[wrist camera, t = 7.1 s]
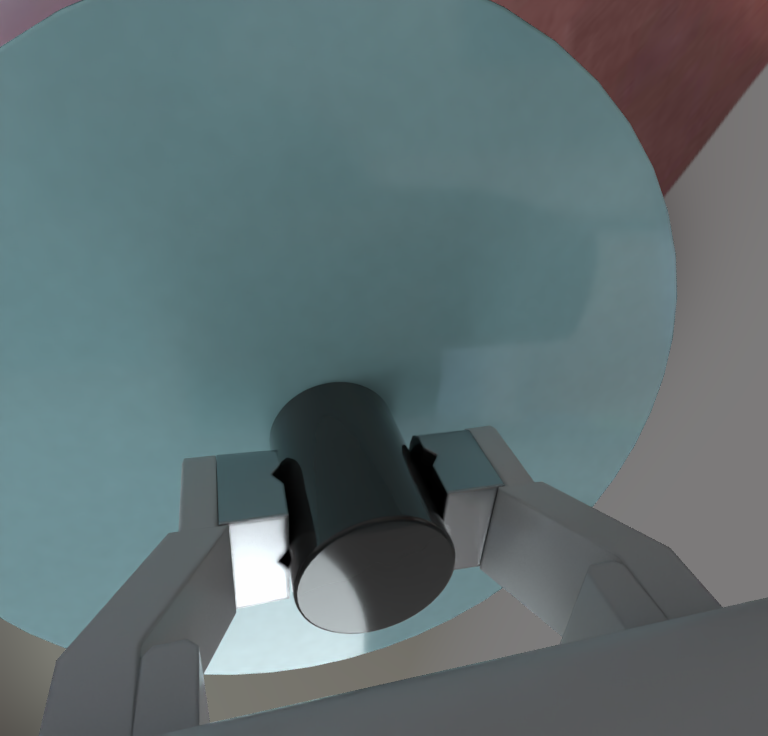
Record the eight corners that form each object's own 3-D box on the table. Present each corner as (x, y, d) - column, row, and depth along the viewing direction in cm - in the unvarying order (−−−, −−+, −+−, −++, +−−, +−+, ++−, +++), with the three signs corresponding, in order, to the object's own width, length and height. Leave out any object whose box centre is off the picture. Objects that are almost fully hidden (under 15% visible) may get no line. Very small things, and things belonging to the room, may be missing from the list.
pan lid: (-393, 357, 8) (-909, 648, 4) (485, -307, 7) (809, -684, 3) (252, 703, 17) (267, 904, 13) (699, 424, 16) (859, 555, 12)
